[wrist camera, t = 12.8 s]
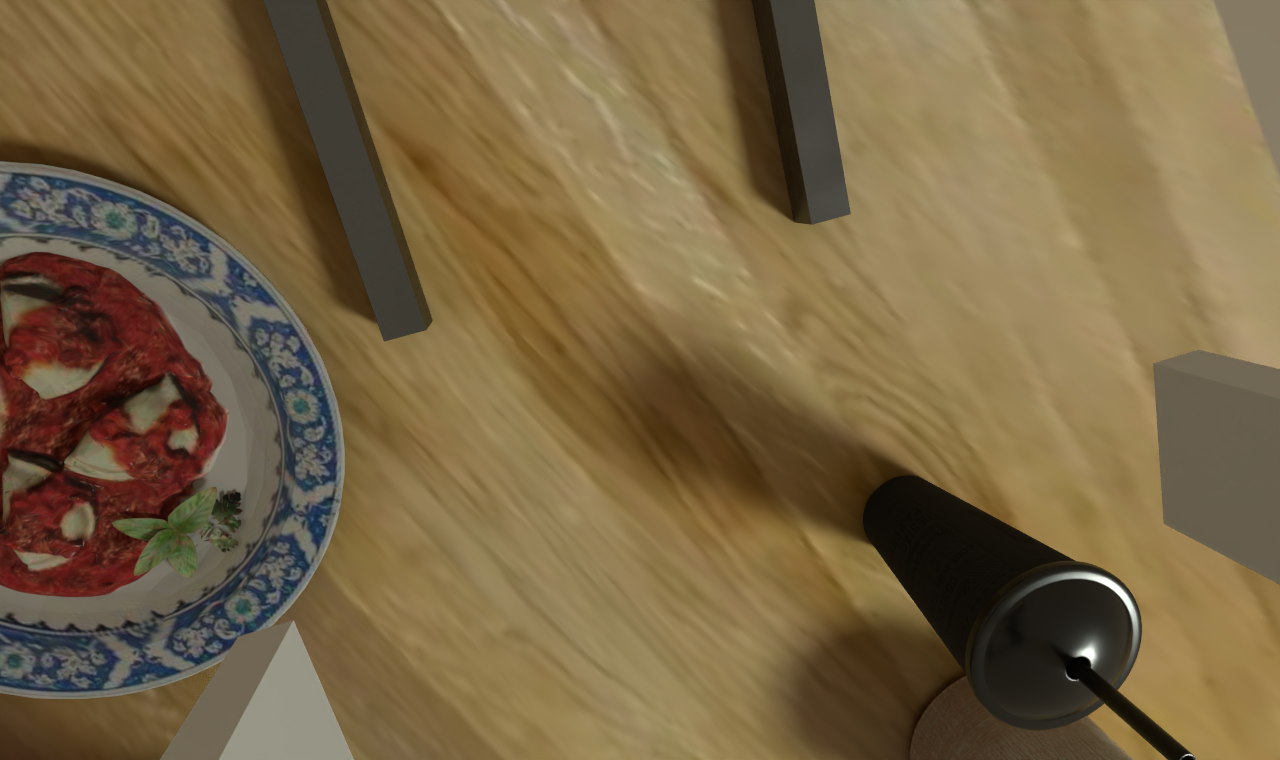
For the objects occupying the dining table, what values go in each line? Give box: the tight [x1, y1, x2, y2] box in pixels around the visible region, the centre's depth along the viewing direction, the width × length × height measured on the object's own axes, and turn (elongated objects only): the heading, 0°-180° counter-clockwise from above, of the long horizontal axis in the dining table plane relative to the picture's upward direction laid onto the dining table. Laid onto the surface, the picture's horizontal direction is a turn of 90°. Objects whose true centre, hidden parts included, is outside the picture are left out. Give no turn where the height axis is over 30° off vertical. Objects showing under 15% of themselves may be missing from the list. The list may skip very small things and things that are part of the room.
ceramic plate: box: [0, 161, 345, 699], centre depth 36 cm, size 26×26×3 cm
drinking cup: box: [863, 476, 1195, 760], centre depth 35 cm, size 8×8×20 cm
